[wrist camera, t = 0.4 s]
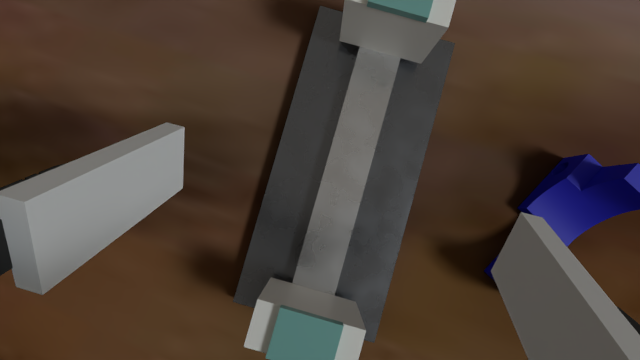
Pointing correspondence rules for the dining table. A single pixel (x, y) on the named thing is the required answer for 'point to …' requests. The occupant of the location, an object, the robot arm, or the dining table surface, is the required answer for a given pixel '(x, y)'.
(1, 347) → the dining table surface
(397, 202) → the rail
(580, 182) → the cable clip
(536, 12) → the dining table surface
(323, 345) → the mounted modules
